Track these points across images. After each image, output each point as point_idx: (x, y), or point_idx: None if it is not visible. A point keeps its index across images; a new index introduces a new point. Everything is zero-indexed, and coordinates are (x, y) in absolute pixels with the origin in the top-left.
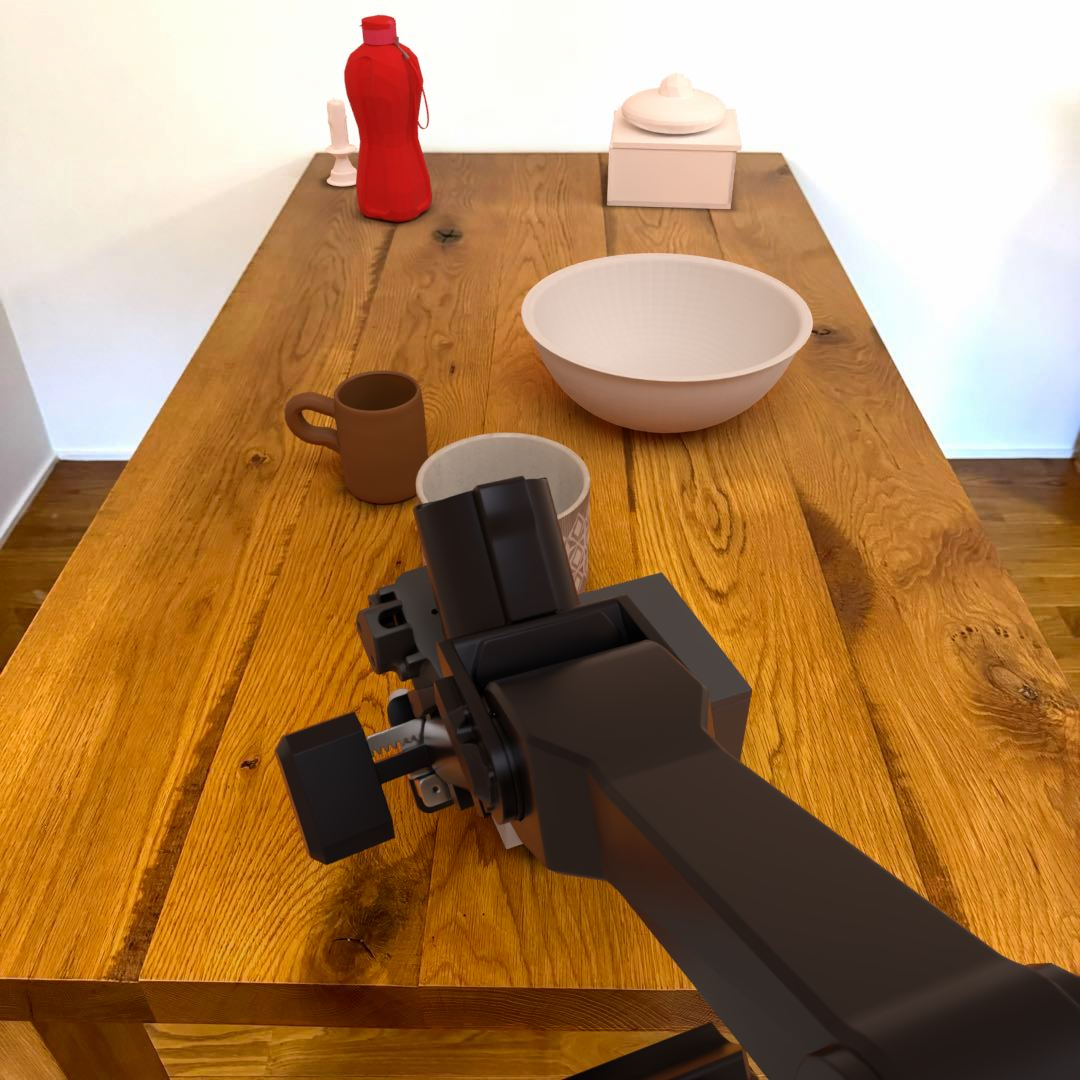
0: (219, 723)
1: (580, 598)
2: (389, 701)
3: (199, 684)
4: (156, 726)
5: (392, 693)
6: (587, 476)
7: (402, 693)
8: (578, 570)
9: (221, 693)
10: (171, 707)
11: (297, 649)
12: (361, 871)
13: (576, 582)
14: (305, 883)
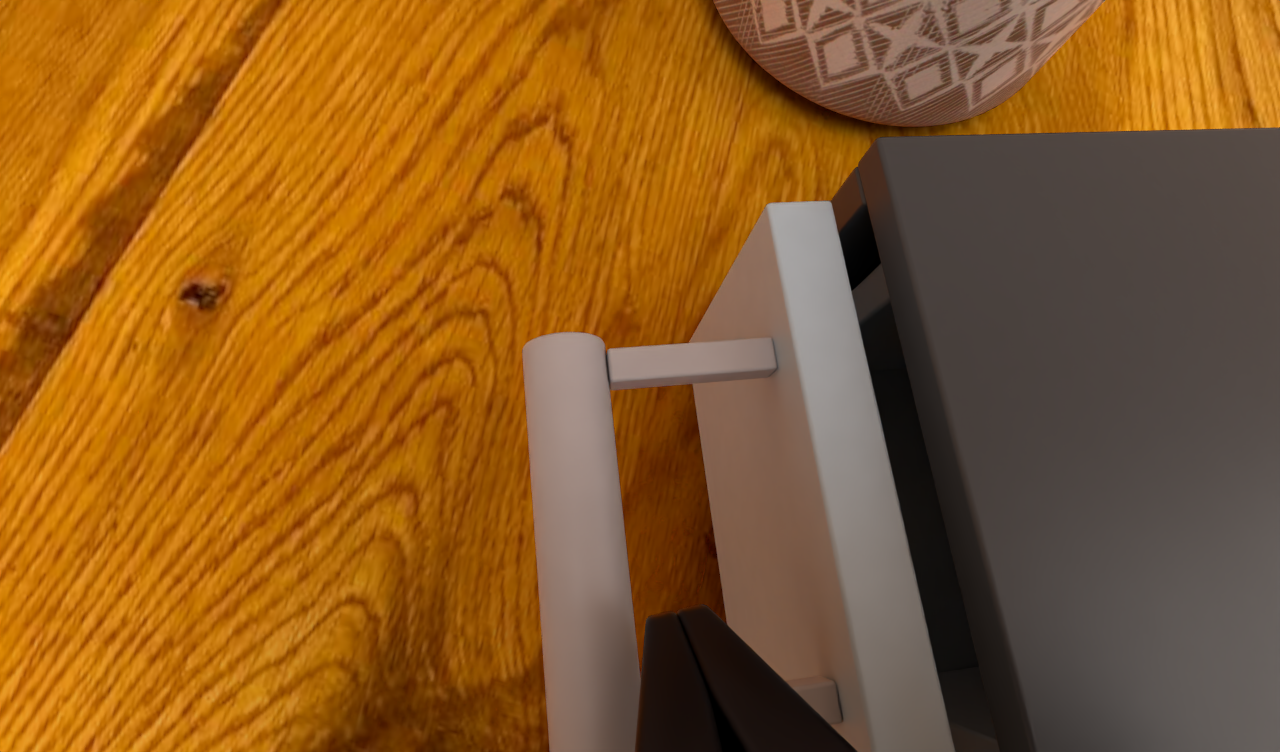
0: (163, 160)
1: (1271, 147)
2: (523, 360)
3: (147, 40)
4: (13, 124)
5: (538, 342)
6: None
7: (573, 358)
8: (1091, 14)
9: (190, 80)
10: (64, 83)
11: (390, 17)
12: (387, 694)
13: (1062, 44)
14: (242, 695)
